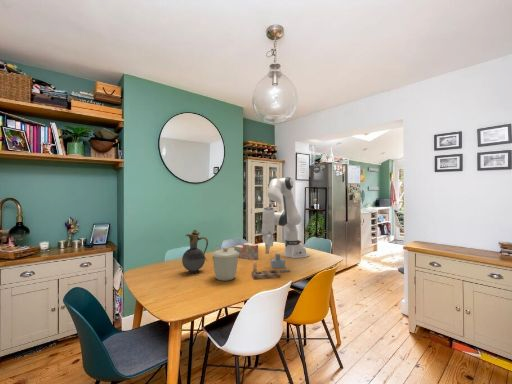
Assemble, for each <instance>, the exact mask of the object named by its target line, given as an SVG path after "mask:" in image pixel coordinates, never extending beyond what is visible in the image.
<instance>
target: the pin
mask: <svg viewBox="0 0 512 384" xmlns="http://www.w3.org/2000/svg"><path fill="white" fill-rule="evenodd" d="M257 262H258V261H257V260H252V269H253V270H252V272H254V271H258V270H257V268H258V267H257Z"/></svg>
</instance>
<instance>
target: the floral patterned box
mask: <svg viewBox="0 0 512 384" xmlns="http://www.w3.org/2000/svg"><path fill="white" fill-rule="evenodd" d="M233 250H235V251H237V252H239V255H238V259H239V258H241V259H246V260H250V261H257V260H258V259H259V244H257V243H251V242H250V243H249V242H246V243H243V244H242V245H240V244H237V245H235V246H234V249H233Z"/></svg>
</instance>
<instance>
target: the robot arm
mask: <svg viewBox="0 0 512 384" xmlns="http://www.w3.org/2000/svg"><path fill="white" fill-rule="evenodd" d="M293 187H294V181H293V179H292V178H291V177H289V176H287V177H279V178H272V179H271V180H270V181H269V182H268V184H267V197H268V199H269V200H271V201H272V202H274V203H277V204H279V205H280V210H281V211H275V208H274V207H264V208H263V211H262V215H261V221H262V225H261V233H262V241H263V243H264V244H265V245H264V247H265V248H266V245H267V251H269V252H270V248H272V247H274V234H275V228H276V227H275V226H281V227H284V233H285V234H284V236H285V237H284V238H285V239H284V253H283V256H284V257H285V258H292V259H299V258H308V256H309V257H310V254H309V253H307V250H306V248H305V247H304V245H302V243H303V242H302V240H299V239H298V236H299V235H298V234H299V231H298V228H297V225H300V224H301V222H302V217H301V214H299V211H298V209H297V206H296V204H295V200H294V195H293V191H292V189H293Z"/></svg>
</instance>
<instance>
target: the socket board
mask: <svg viewBox="0 0 512 384" xmlns="http://www.w3.org/2000/svg"><path fill="white" fill-rule="evenodd" d="M251 277H252V279H253V280H265V279H278V278H279V279H280V278H281V272H280V271H279V270H278V269H273V270H259V271H258V270H257V271H251Z"/></svg>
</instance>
